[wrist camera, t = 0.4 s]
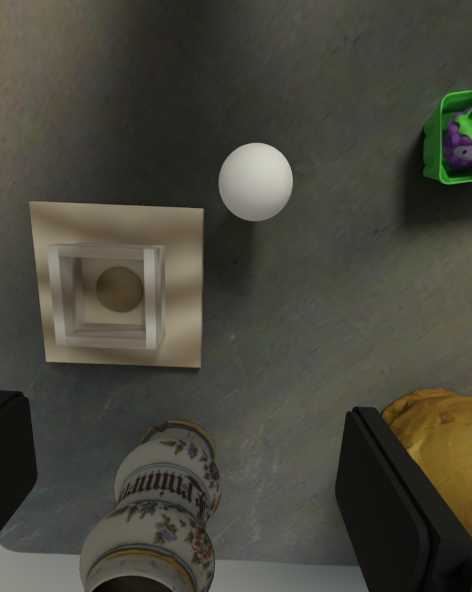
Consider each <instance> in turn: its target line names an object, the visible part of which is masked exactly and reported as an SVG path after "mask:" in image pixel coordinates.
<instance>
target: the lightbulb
mask: <svg viewBox="0 0 472 592" xmlns="http://www.w3.org/2000/svg"><path fill="white" fill-rule="evenodd" d="M292 185H293V178H292V171H291V168H290V165H289V163H288V162H287V160H286V158H285V157H284V156H283V155H282V153H281V152H279V151H278V150H277V149H275V148H274V147H272V146H270V145H267V144H263V143H251V144H246V145H244V146H241V147H239V148H237V149H236V150H235V151H233V152H232V153H231V154H230V155H229V156H228V157H227V159H226V160H225V162H224V163H223V165H222V168H221V170H220V175H219V191H220V195H221V197H222V200H223V202H224V204H225V205H226V207H227V208H228V209H229V210H230V211H231V212H232V213H233V214H235V215H236V216H237V217H239V218H242V219H244V220H248V221H262V220H266V219H269V218H271V217H273V216H274V215H276V214H277V213H279V212H280V211H281V210H282V209H283V208H284V206H285V205H286V203H287V202H288V200H289V197H290V195H291V191H292Z"/></svg>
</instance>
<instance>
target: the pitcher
mask: <svg viewBox="0 0 472 592" xmlns="http://www.w3.org/2000/svg"><path fill="white" fill-rule="evenodd" d="M382 418H383V419H384V420H385V422H386V423H387V424H388V426H389V427H390V428H391V430H392V431H393V433H394V434H395V435H396V437H397V438H398V439H399V441H400V442H401V444H402V445H403V446H404V448H405V449H406V450H407V452H408V453H409V454H410V456H411V457H412V459H414V460H415V462H416V463H417V464H418V465H419V466H420V468H421V469H422V470H423V472H424V473H425V475H426V476H427V477H428V479H429V480H430V481H431V483H432V484H433V485H434V487H435V488H436V489H437V491H438V492H439V494H440V495H441V496H442V498H443V499H444V500H445V502H446V503H447V504H448V506H449V507H450V509H451V510H452V511H453V513H454V514H455V515H456V517H457V518H458V519H459V521H460V522H461V523H462V525H463V526H464V528H465V529H466V530H467V532H468V533H469V534H470V536H471V537H472V396H457V395H454V394H453V392H452V391H448V390H445V389H443V388H439V389H438V388H437V389H435V388H434V389H431V388H427V389H425V390H423V389H421V390H416V391H415V392H411V393H410V394H408V395H405V396H404V397H402V398H400V399H399V398H398V400H397V401H395V402H394V403H393V404H392V405H389V407H387V408H386V409H385V411H384V412H383V413H382Z"/></svg>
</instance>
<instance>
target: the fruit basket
mask: <svg viewBox="0 0 472 592" xmlns="http://www.w3.org/2000/svg"><path fill="white" fill-rule="evenodd" d="M424 132H425V135H426V137H425V139H424V154H423V161H424V164H425V167H424V170H423V175H424V176H425V177H428V178H432V179H435V180H438V181H439V182H441V183H443V184H446V185H450V184H457V183H465V182H472V90H471V91H463V92H455V93H450V94H448V95H446V96H445V97H444V98H443V100H442V101H441V103H440V104H439V106H438V109H437V110H436V111H435V113H434V114H433V115H432V116H431V118H430V119H429V120H428V122H427V123H426V124H425V126H424Z"/></svg>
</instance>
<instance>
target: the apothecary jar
mask: <svg viewBox="0 0 472 592" xmlns="http://www.w3.org/2000/svg"><path fill="white" fill-rule="evenodd" d="M214 461H215V447H214V444H213V442H212V440H211V438H210V437H209V435H208V434H207V433H206V432H205V431H204V430H203V429H201V428H200V427H198V426H197V425H195V424H193V423H190V422H187V421H182V420H170V421H167V422H166V423H164V424H163V425H162V426H160V427H155V426H154V427H152V428H151V429H150V430H149V431H148V432H147V433H146V434H145V435H144V437H143V439H142V442H141V445H140V446H139V447H137V448H136V449H134V450H133V451H132V452H131V453H130V454H129V455H128V456H127V457H126V458H125V459H124V461H123V462H122V464H121V466H120V468H119V470H118V472H117V475H116V479H115V486H114V491H115V498H116V502H117V503H116V506H115V508H114V510H113V511H112V512H110V513H108V514H107V515H106V516H104V517H103V518H102V519H101V520H100V521H99V522H98V523H97V524H96V525H95V526H94V527H93V529H92V530H91V531H90V533H89V534H88V536H87V538H86V540H85V542H84V545H83V548H82V551H81V556H80V577H81V581H82V584H83V587H84V589H85V591H84V592H208V590H209V589H210V586H211V584H212V581H213V577H214V570H215V556H214V550H213V546H212V543H211V541H210V539H209V537H208V535H207V533H206V531H205V527H206V523H207V522H208V521H209V520H210V518H211V517H212V516H213V514H214V512H215V511H216V509H217V507H218V504H219V501H220V497H221V479H220V474H219V471H218V469H217V467H216V465H215V463H214Z"/></svg>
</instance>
